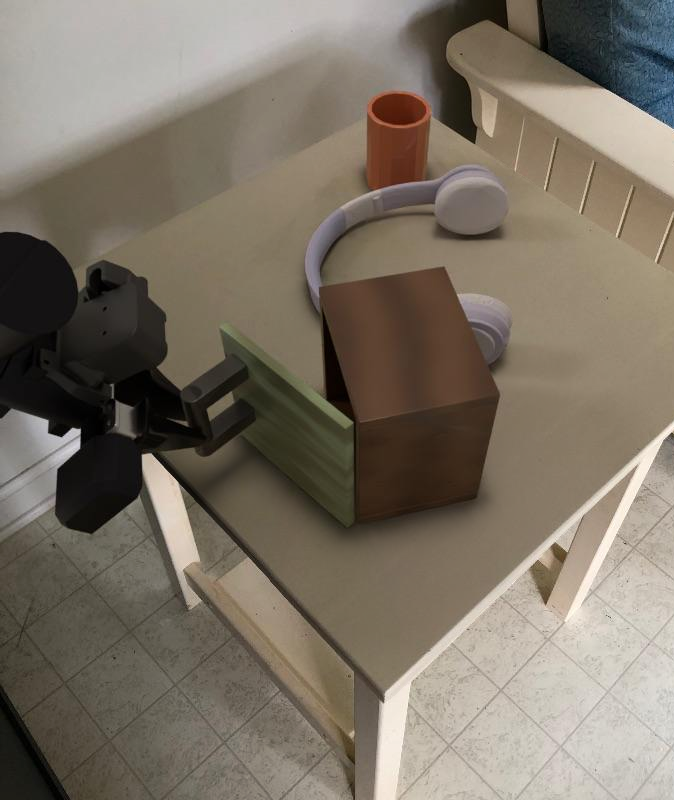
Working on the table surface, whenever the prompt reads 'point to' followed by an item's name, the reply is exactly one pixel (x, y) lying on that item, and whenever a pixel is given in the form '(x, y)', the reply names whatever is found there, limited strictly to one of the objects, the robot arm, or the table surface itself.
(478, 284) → the table surface
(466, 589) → the table surface
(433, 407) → the cupboard
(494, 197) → the headphones
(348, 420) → the door
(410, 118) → the cup
